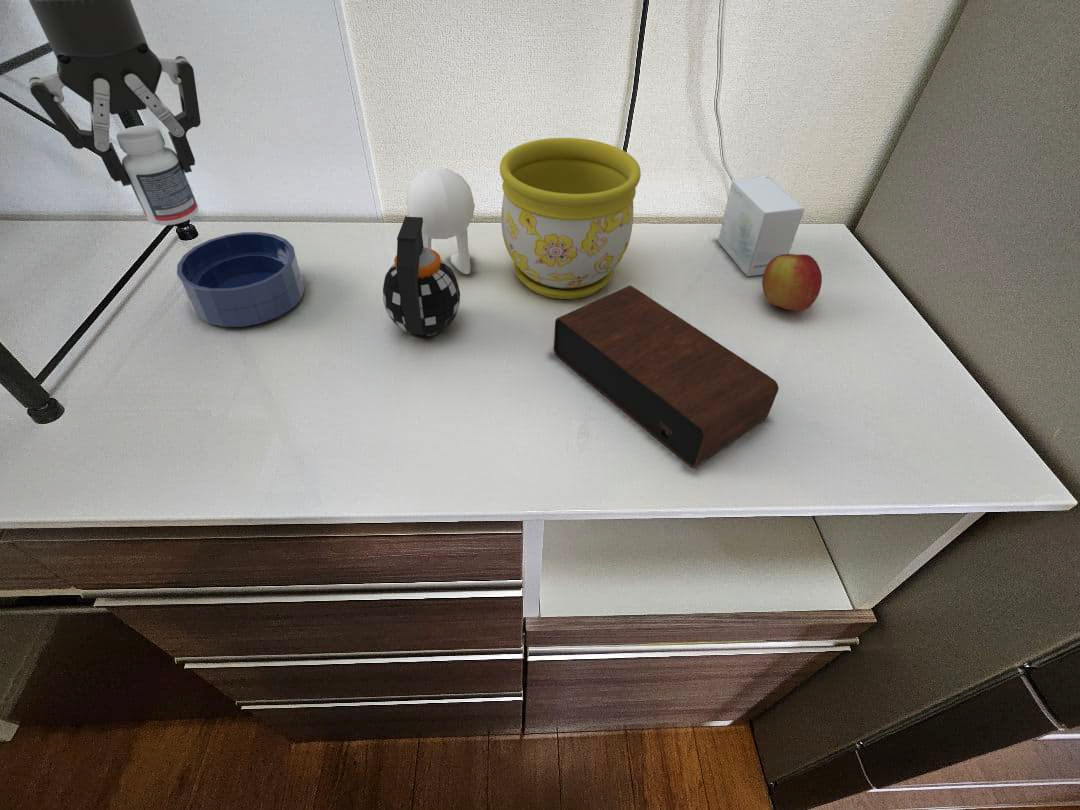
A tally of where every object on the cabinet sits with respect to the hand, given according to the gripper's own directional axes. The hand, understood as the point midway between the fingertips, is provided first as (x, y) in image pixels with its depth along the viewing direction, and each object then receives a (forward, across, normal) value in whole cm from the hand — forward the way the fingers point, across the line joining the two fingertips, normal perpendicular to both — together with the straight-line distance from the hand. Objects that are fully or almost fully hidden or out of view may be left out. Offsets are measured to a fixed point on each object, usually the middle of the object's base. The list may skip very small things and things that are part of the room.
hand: (156, 175), depth 66 cm
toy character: (+21, -31, +2) cm, 37 cm away
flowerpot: (+21, -45, +12) cm, 51 cm away
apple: (+21, -67, +34) cm, 78 cm away
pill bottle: (+5, 0, 0) cm, 5 cm away
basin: (+20, -5, -5) cm, 22 cm away
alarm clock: (+21, -41, +37) cm, 59 cm away
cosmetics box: (+21, -72, +22) cm, 79 cm away
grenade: (+21, -22, +14) cm, 33 cm away
